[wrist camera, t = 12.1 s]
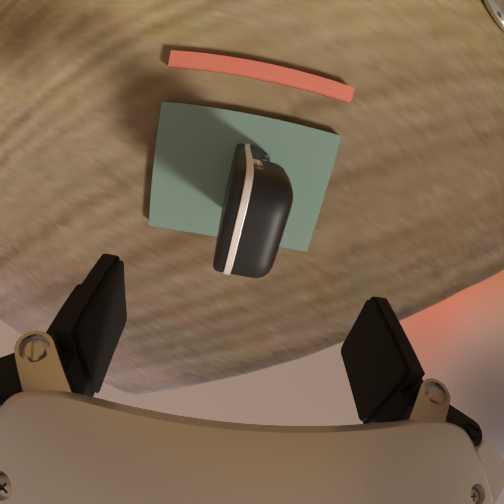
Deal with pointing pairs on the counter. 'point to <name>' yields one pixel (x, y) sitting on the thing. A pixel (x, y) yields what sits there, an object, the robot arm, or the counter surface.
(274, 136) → the mat
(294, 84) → the bar
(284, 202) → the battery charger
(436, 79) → the counter surface
